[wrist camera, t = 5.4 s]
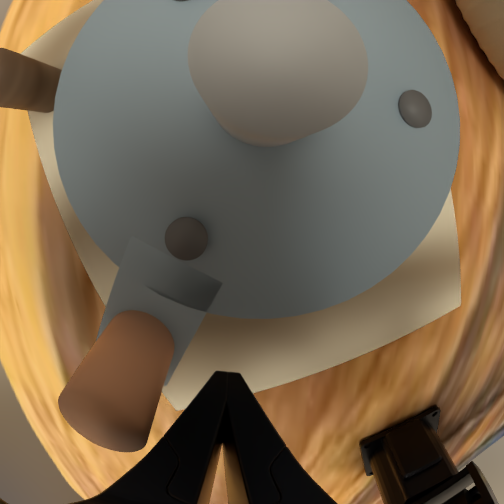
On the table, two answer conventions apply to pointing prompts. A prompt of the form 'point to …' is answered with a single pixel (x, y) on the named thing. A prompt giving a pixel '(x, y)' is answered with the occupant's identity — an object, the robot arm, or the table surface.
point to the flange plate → (241, 172)
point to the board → (230, 328)
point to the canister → (486, 28)
